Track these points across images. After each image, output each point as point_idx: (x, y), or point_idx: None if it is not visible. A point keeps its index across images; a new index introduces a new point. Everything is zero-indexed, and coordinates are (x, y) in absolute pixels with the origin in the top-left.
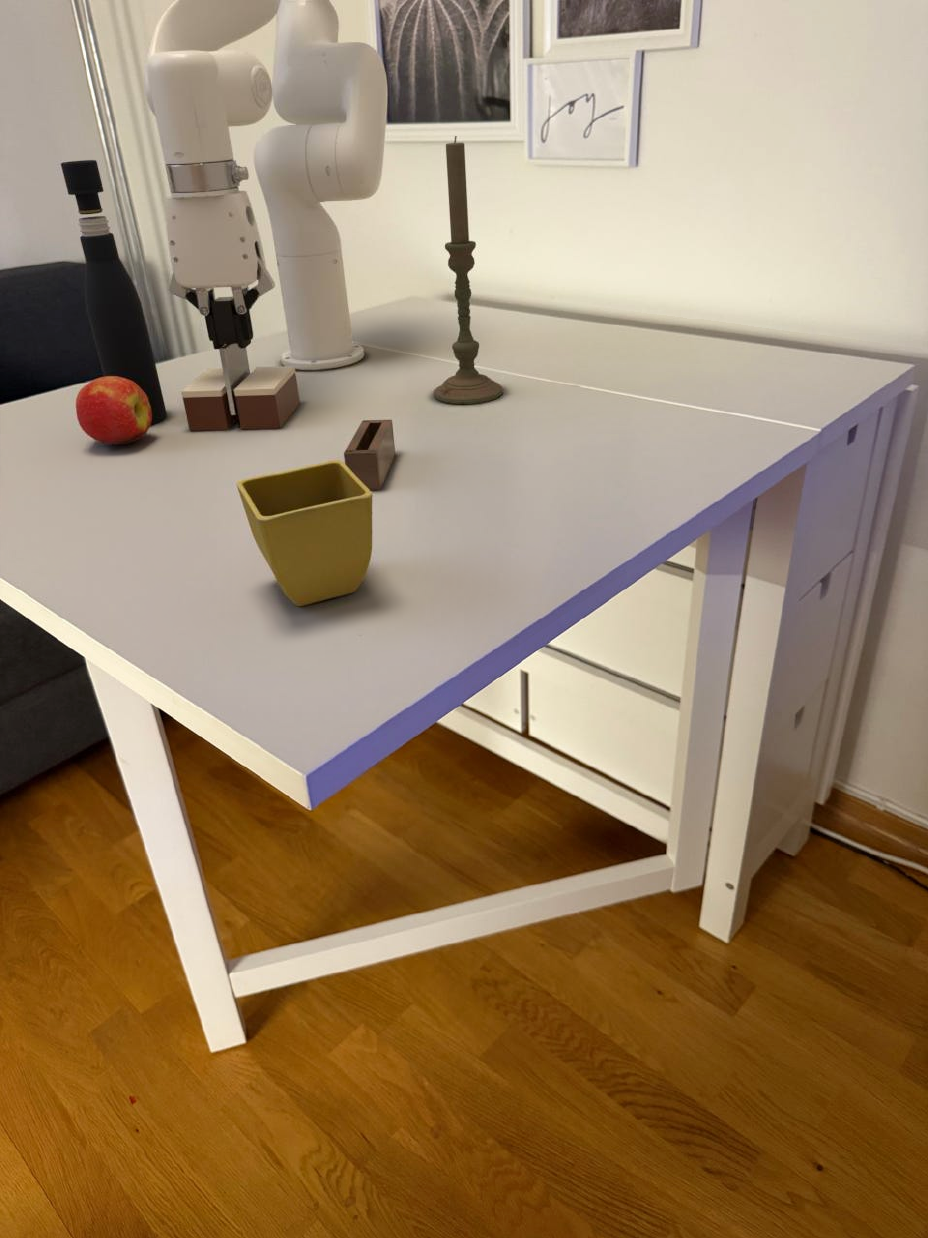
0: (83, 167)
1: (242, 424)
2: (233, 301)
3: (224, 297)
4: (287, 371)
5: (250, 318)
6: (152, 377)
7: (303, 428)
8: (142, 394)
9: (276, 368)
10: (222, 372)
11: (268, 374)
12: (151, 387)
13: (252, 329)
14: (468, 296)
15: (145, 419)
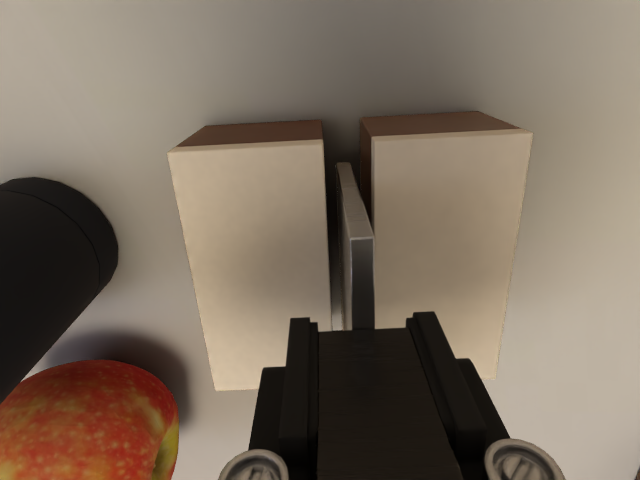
0: None
1: None
2: None
3: None
4: (515, 212)
5: (500, 423)
6: (52, 322)
7: (514, 308)
8: (148, 468)
9: (463, 168)
10: (256, 209)
11: (448, 244)
12: (68, 318)
13: (478, 376)
14: None
15: (172, 429)
